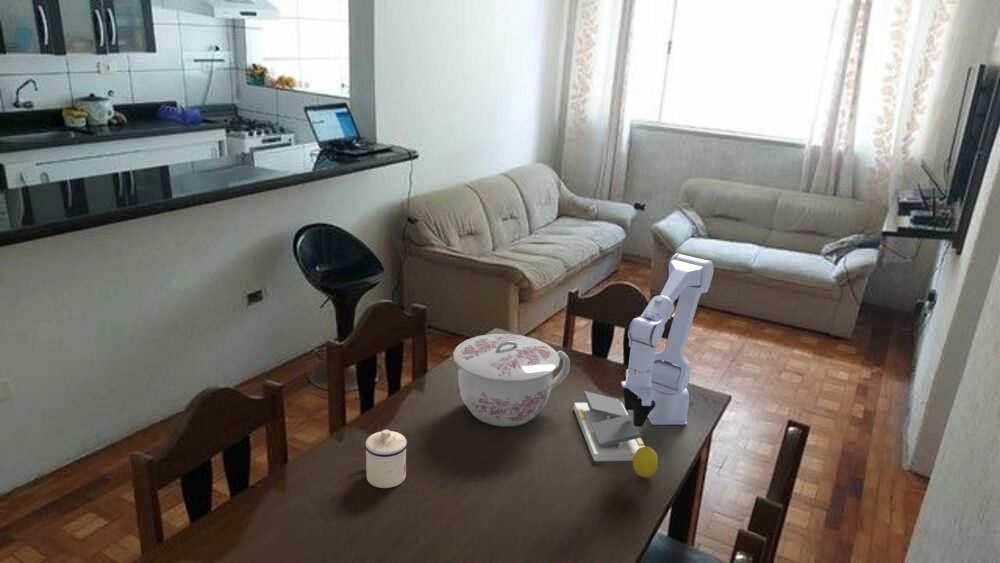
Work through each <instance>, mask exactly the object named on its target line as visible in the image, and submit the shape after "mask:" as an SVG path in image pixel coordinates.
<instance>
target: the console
mask: <svg viewBox="0 0 1000 563" xmlns="http://www.w3.org/2000/svg"><path fill="white" fill-rule="evenodd" d="M620 402H621V401H620ZM621 404H622V406H623V408H624V410H625V412H626V414H627V415H629V413H628V412H627V411H628V410H626V409H625V405H624V403H623V402H621ZM573 411H574V413H575V416H576V418H577V421H578V423H579V427H580V428H581V432H582V433H583V436H584V439H585V441H586V443H587V446H588V450H589V452H590V454H591V457H592V460H593V462H621V461H622V462H627V461H628V462H631V461H632V462H633V458H634V455H635V453H636V451H637V450H638V449H639V448H641V447H646V445H645V443H644V442H643V440H642V437H641V438H637V439H633V440H629V441H625V442H622V443H623V445H622V446H620V444H619V443H616V444H612V445H608V446H604V447H600V445H599V443H598V441H597V438H596V436H595V433H594V431H593V429H592V425H591V424H592V423H596V422H600V421H605V420H609V419H607V417H606V415H602V414H598V413H594V412H591V411H590V409H589V407H588V404H587V402H574V404H573ZM613 418H615V417H611V416H610V419H613Z"/></svg>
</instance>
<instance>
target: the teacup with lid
mask: <svg viewBox="0 0 1000 563" xmlns="http://www.w3.org/2000/svg"><path fill="white" fill-rule="evenodd" d="M407 441H408V440H407V439H406V437H405V436H404V435H403V434H402V433H400V432H398V431H394V430H389V429H383V430H382V431H377V432H375V433H373V434H371V435H369V436H368V437H367V439H366V441H365V444H364V448H365V455H366V456H365V464H366V466H365V467H366V468H365V469H366V480H367V482H368V483H369V484H370V485H372V486H373V487H376V488H379V489H380V488H381V489H389V488H394V487H397V486H399V485H401V484H402V483H403V482H404V481H405V479H406V476H407V448H408V442H407Z"/></svg>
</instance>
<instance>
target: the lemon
mask: <svg viewBox="0 0 1000 563" xmlns="http://www.w3.org/2000/svg"><path fill="white" fill-rule="evenodd" d="M658 463H659V459H658V455H657V452H656V451H655V450H654V449H653V448H652V447H650V446H645V447H641V448H639V449H638V450H637V451H636V453H635V455H634V458H633V461H632V468H633V470H634V472H635V473H636V474H637V475H638V476H639V477H641V478H650V477H651V476H653V475H654V474H655V473H656V471H657V469H658Z"/></svg>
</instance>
